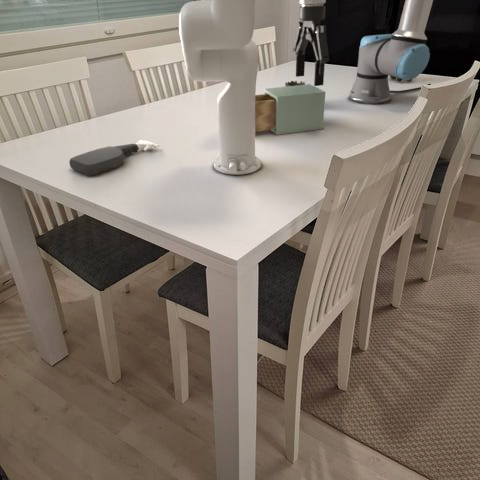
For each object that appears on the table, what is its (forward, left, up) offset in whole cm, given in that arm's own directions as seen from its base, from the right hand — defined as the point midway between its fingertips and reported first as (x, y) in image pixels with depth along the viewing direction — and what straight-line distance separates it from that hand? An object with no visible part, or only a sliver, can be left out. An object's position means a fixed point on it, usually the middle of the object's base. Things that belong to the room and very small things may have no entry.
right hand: (308, 80), depth 141 cm
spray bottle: (+60, -20, -14) cm, 65 cm away
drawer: (+16, -8, -13) cm, 22 cm away
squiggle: (-79, -9, -14) cm, 81 cm away
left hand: (+22, -11, +1) cm, 24 cm away
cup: (-16, -18, -14) cm, 28 cm away
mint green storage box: (+4, -2, -14) cm, 15 cm away
